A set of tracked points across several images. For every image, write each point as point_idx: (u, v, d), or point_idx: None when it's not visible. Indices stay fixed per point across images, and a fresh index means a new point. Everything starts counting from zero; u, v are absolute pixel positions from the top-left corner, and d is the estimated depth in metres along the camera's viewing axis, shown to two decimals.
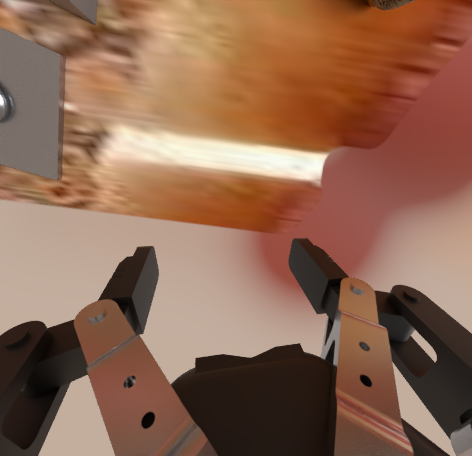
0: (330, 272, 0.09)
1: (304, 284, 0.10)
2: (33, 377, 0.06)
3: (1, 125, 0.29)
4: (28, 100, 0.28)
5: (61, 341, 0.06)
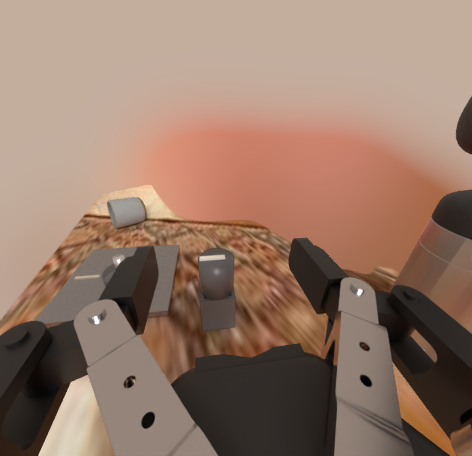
0: (330, 272, 0.09)
1: (304, 284, 0.10)
2: (33, 377, 0.06)
3: (101, 284, 0.34)
4: None
5: (61, 341, 0.06)
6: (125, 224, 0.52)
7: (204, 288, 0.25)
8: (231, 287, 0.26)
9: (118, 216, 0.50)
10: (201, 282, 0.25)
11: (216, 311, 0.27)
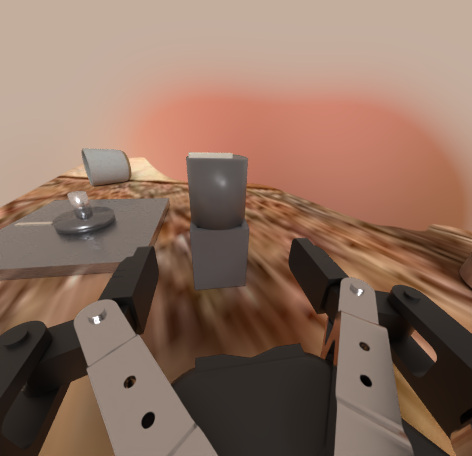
0: (330, 272, 0.09)
1: (304, 285, 0.10)
2: (33, 377, 0.06)
3: (51, 231, 0.24)
4: (80, 244, 0.21)
5: (61, 341, 0.06)
6: (103, 180, 0.43)
7: (196, 209, 0.15)
8: (242, 212, 0.16)
9: (93, 166, 0.40)
10: (192, 199, 0.15)
11: (217, 253, 0.16)
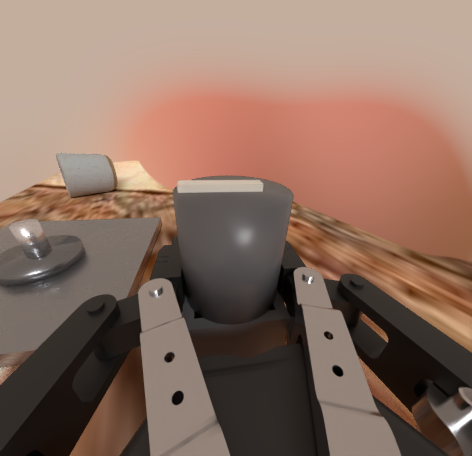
0: (287, 262, 0.09)
1: None
2: (108, 341, 0.07)
3: None
4: (21, 305, 0.14)
5: (128, 312, 0.07)
6: (83, 190, 0.36)
7: (194, 287, 0.08)
8: (276, 284, 0.09)
9: (68, 175, 0.33)
10: (185, 267, 0.08)
11: None
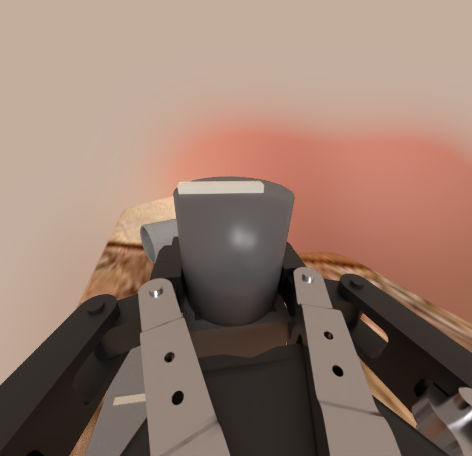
0: (287, 262, 0.09)
1: None
2: (108, 340, 0.07)
3: None
4: None
5: (128, 312, 0.07)
6: None
7: (195, 289, 0.08)
8: (277, 286, 0.09)
9: (158, 248, 0.35)
10: (185, 269, 0.08)
11: None
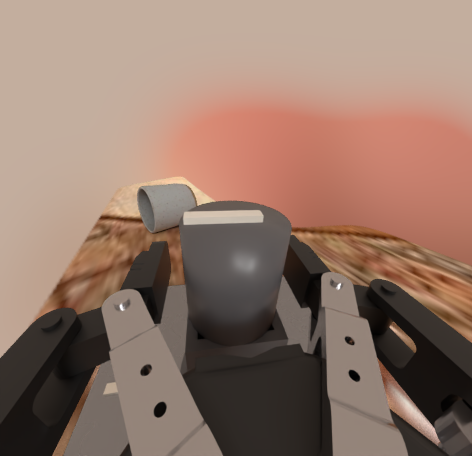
0: (312, 267, 0.09)
1: (290, 280, 0.11)
2: (66, 359, 0.06)
3: None
4: None
5: (90, 327, 0.07)
6: (167, 226, 0.32)
7: (198, 312, 0.08)
8: (275, 306, 0.09)
9: (158, 212, 0.30)
10: (189, 292, 0.08)
11: None
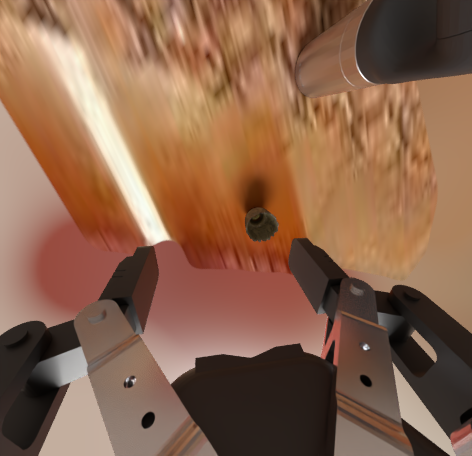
0: (330, 272, 0.09)
1: (304, 285, 0.10)
2: (33, 377, 0.06)
3: None
4: None
5: (61, 341, 0.06)
6: None
7: None
8: None
9: None
10: None
11: None
